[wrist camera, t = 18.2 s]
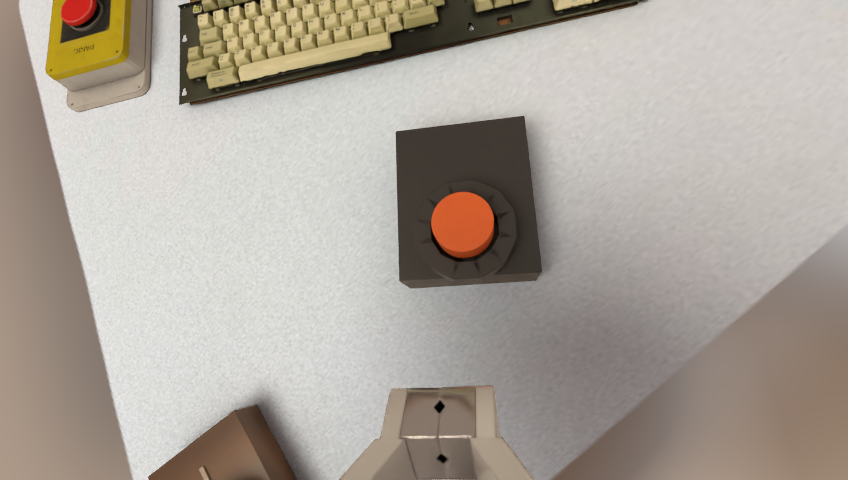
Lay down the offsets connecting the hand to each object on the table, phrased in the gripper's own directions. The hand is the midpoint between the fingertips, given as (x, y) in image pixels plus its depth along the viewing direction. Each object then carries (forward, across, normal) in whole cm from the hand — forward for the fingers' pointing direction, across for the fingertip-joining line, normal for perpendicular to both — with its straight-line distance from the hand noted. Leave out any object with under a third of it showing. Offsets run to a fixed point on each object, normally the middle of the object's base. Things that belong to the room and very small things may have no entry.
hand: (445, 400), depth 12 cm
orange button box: (+23, 0, -5) cm, 24 cm away
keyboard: (+39, -6, +11) cm, 41 cm away
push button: (+17, 0, -4) cm, 17 cm away
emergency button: (+39, -37, +12) cm, 55 cm away
